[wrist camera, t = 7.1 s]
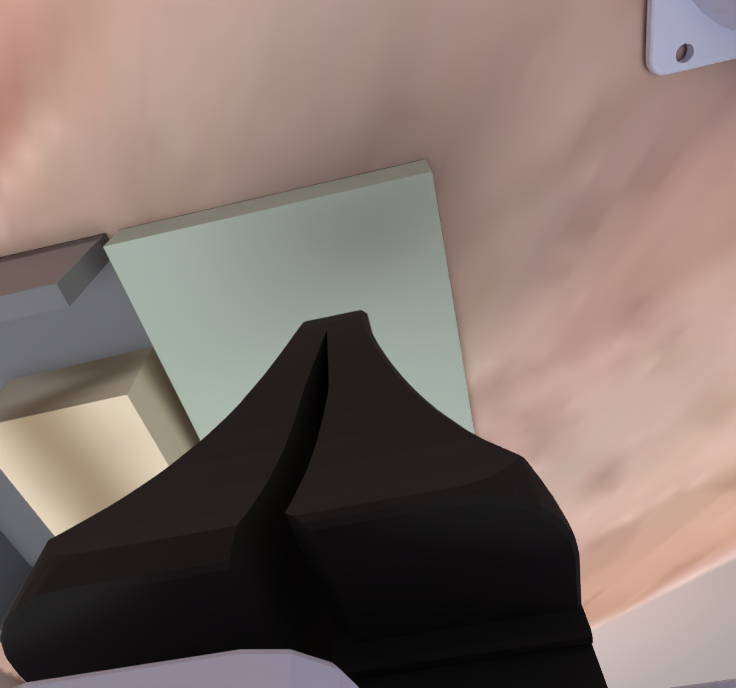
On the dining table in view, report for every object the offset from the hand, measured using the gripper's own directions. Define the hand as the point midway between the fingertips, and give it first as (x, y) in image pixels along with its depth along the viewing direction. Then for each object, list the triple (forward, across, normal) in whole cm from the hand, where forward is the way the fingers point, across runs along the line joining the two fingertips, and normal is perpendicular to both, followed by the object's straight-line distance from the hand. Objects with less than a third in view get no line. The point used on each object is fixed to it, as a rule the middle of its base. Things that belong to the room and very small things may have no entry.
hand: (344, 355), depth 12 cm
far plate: (+9, +2, +7) cm, 12 cm away
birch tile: (+9, +12, +7) cm, 16 cm away
